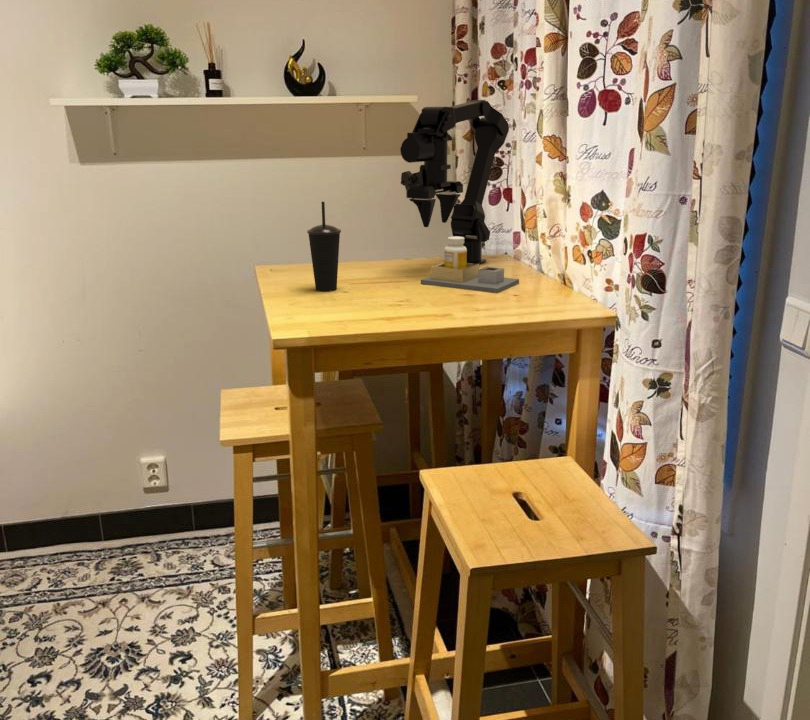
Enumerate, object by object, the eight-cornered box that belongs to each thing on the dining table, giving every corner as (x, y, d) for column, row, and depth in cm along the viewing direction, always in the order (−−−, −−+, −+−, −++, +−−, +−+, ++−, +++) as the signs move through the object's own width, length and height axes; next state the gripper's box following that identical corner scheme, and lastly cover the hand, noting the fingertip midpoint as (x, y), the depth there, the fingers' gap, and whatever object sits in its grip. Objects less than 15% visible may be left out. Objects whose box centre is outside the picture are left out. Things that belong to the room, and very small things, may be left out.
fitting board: (445, 274, 197) (445, 271, 197) (519, 283, 187) (519, 279, 187) (420, 283, 187) (420, 279, 187) (497, 293, 177) (497, 288, 177)
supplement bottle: (443, 279, 187) (443, 239, 184) (444, 275, 192) (444, 235, 189) (466, 279, 186) (467, 239, 183) (466, 275, 191) (467, 235, 188)
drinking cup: (322, 294, 177) (318, 204, 171) (303, 289, 183) (299, 201, 176) (349, 289, 182) (346, 201, 176) (329, 284, 187) (326, 199, 181)
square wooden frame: (447, 272, 194) (448, 260, 193) (478, 276, 190) (479, 264, 189) (430, 279, 187) (430, 266, 186) (462, 282, 183) (462, 270, 182)
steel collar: (486, 279, 187) (486, 266, 186) (503, 281, 185) (504, 268, 184) (478, 282, 183) (478, 269, 182) (495, 284, 181) (496, 271, 180)
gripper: (426, 157, 204) (426, 218, 208) (387, 161, 189) (388, 227, 193) (464, 158, 198) (463, 221, 203) (427, 163, 183) (427, 230, 188)
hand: (435, 224), depth 197 cm, fingers open, 9 cm apart
